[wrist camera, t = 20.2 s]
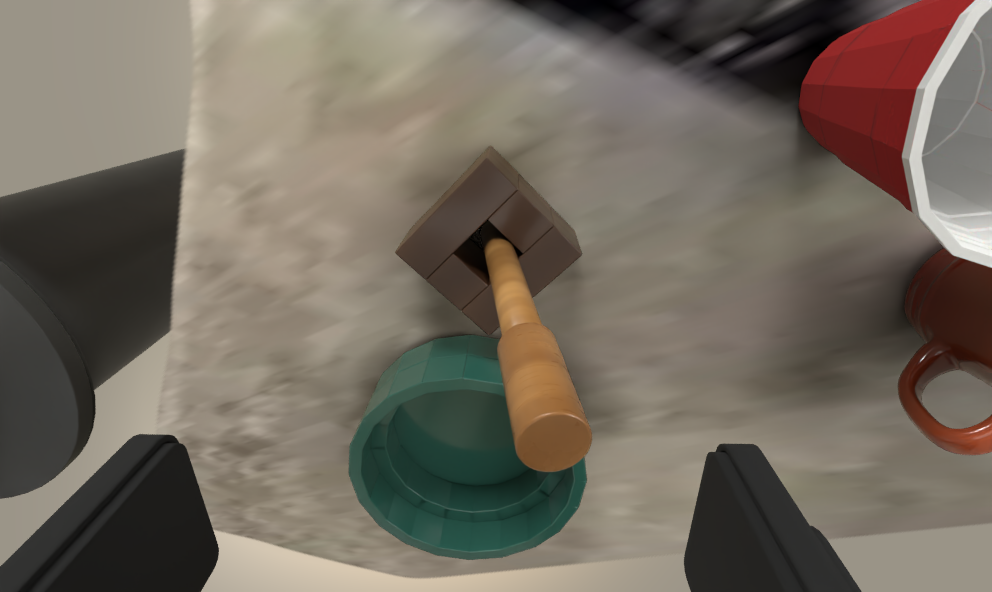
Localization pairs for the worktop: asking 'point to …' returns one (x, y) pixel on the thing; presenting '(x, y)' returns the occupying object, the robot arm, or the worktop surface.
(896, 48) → the plastic cup
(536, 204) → the holder
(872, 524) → the worktop surface
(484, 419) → the bowl
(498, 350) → the stick
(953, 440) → the mug
